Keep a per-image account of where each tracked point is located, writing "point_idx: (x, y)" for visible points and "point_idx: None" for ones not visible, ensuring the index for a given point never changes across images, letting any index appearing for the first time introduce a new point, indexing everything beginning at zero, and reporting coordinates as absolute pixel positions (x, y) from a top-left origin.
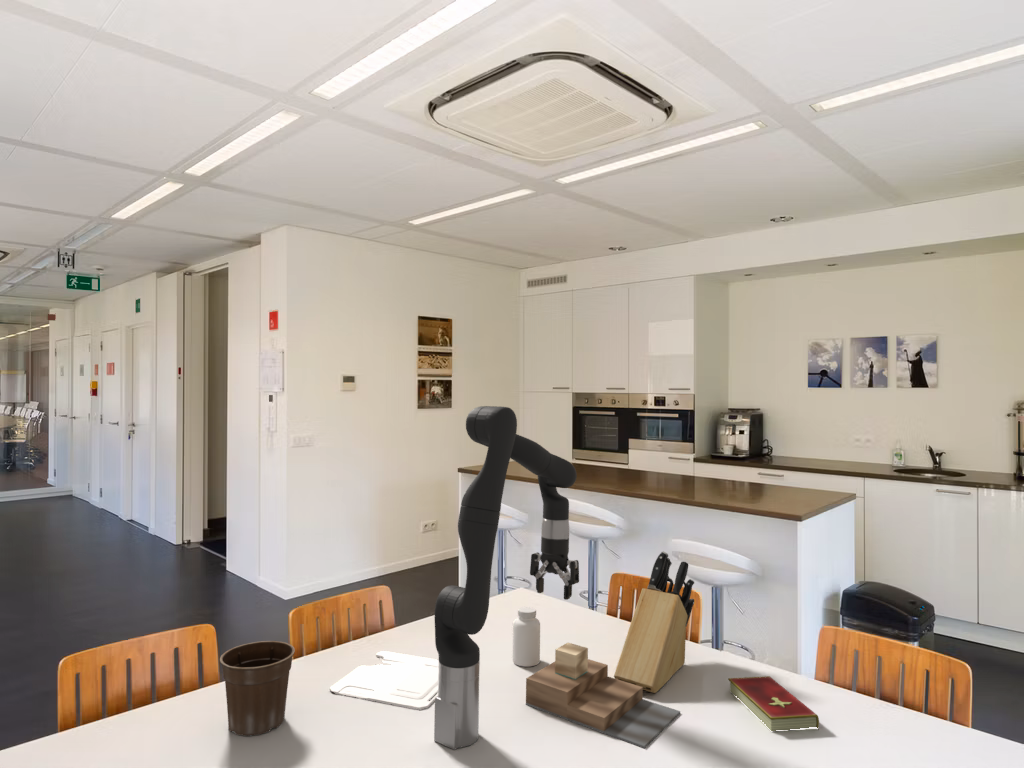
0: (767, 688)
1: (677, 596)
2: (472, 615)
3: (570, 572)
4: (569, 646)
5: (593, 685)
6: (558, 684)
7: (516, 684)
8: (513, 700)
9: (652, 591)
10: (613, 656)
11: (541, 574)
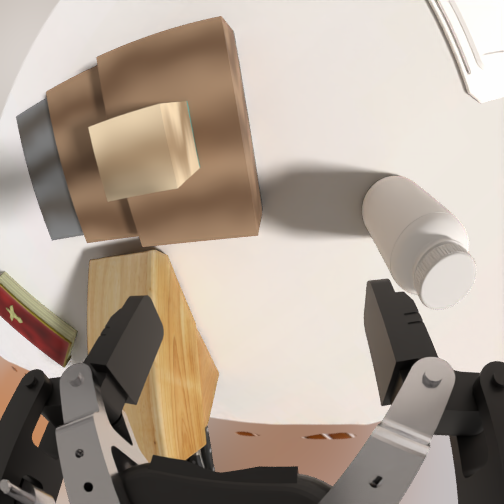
0: (40, 340)
1: None
2: None
3: (11, 446)
4: (148, 164)
5: None
6: (134, 62)
7: (328, 90)
8: (270, 25)
9: None
10: (261, 341)
11: (382, 420)
